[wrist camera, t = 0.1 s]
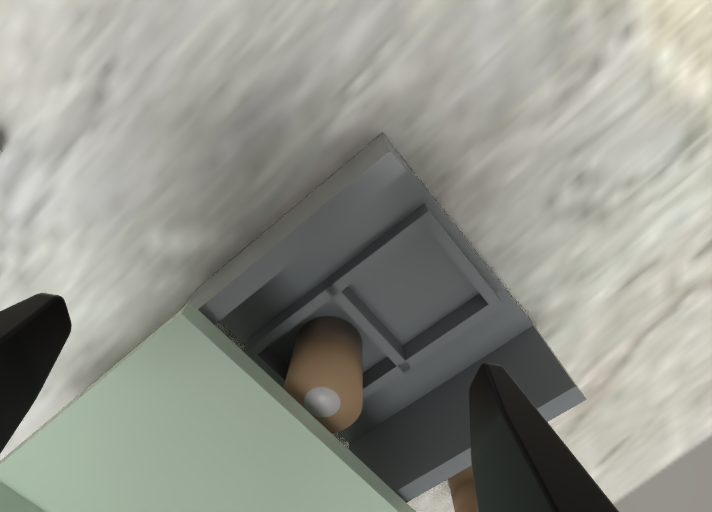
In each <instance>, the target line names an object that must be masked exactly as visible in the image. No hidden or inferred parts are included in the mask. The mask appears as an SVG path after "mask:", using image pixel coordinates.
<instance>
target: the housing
mask: <svg viewBox="0 0 712 512" xmlns="http://www.w3.org/2000/svg"><path fill="white" fill-rule="evenodd" d="M188 303H191V304H192V305H194V306H195V307H196V308H197V309H198V310H199V311H200V312H201V313H202V314H203V315H204V316H205V317H206V318H208V319H209V320H210V321H211V322H212V323H213V324H214V325H215V324H216V323H217V322H220V323H221V324H222V325H223V326H224V327H226V328H227V329H228V330H229V331H230V332H231V333H232V334H233V335H234V336H235V337H236V338H237V339H238V340H239V341H241V342H242V343H243V344H244V345H245V348H244V350H243V352H244V353H245V354H246V355H247V356H248V357H250V358H251V359H252V360H253V361H254V362H255V363H256V364H257V365H258V366H259V367H260V368H261V369H263V370H264V371H265V372H266V373H267V374H268V375H269V376H270V377H271V378H272V379H273V380H274V381H275V382H277V383H278V384H279V385H280V386H281V387H282V388H283V389H284V390H285V391H286V392H287V393H288V394H289V395H291V396H292V397H293V398H294V399H295V400H296V401H297V402H298V403H299V404H300V405H301V406H302V407H303V408H305V409H306V410H307V411H308V412H309V413H310V414H311V415H312V416H313V417H314V418H315V419H316V420H317V421H319V422H320V423H321V424H322V425H323V426H324V427H325V428H326V429H327V430H328V431H329V432H330V433H335V432H338V433H339V434H340V435H341V436H342V437H343V438H344V439H345V440H346V441H348V442H349V450H350V451H351V452H352V453H353V454H354V455H355V456H356V457H357V458H358V459H360V460H361V461H362V462H363V463H364V464H365V465H366V466H367V467H368V468H369V469H370V470H371V471H372V472H374V473H375V474H376V475H377V476H378V477H379V478H380V479H381V480H382V481H383V482H384V483H385V484H386V485H388V486H389V487H390V488H391V489H392V490H393V491H394V492H395V493H396V494H397V495H398V496H399V497H400V498H402V499H403V500H404V501H405V502H406V503H407V502H408V501H410V500H412V499H414V498H415V497H417V496H419V495H421V494H422V493H424V492H426V491H428V490H429V489H431V488H433V487H435V486H436V485H438V484H440V483H442V482H443V481H445V480H447V479H449V478H450V477H452V476H454V475H456V474H457V473H459V472H461V471H463V470H464V469H466V468H468V467H469V466H471V465H472V463H471V444H470V417H469V388H470V385H471V383H472V381H473V379H474V377H475V375H476V373H477V371H478V369H479V367H480V365H481V364H482V363H485V362H486V363H493V364H499V365H501V366H502V367H504V369H505V370H506V371H507V372H508V374H509V375H510V376H511V377H512V379H513V380H514V381H515V382H516V384H517V385H518V386H519V387H520V389H521V390H522V391H523V392H524V394H525V395H526V396H527V397H528V399H529V400H530V401H531V402H532V404H533V405H534V406H535V407H536V409H537V410H538V411H539V412H540V414H541V415H542V416H543V417H544V419H545V420H546V421H547V422H548V421H550V420H551V419H553V418H555V417H557V416H558V415H560V414H562V413H564V412H565V411H567V410H569V409H571V408H572V407H574V406H576V405H578V404H579V403H581V402H583V401H585V400H586V398H585V397H584V395H583V394H582V392H581V391H580V390H579V388H578V387H577V385H576V384H575V382H574V381H573V380H572V378H571V377H570V375H569V374H568V373H567V371H566V370H565V368H564V367H563V365H562V364H561V363H560V361H559V360H558V358H557V357H556V356H555V354H554V353H553V351H552V350H551V348H550V347H549V346H548V344H547V343H546V341H545V340H544V339H543V337H542V336H541V334H540V333H539V331H538V330H537V329H536V327H535V326H534V325H533V323H532V322H531V321H530V320H529V318H528V317H527V316H526V315H525V313H524V312H523V311H522V309H521V308H520V307H519V306H518V304H517V303H516V302H515V301H514V299H513V298H512V297H511V295H510V294H509V293H508V292H507V290H506V289H505V288H504V287H503V285H502V284H501V283H500V281H499V280H498V279H497V278H496V276H495V275H494V274H493V273H492V271H491V270H490V269H489V267H488V266H487V265H486V264H485V262H484V261H483V260H482V259H481V257H480V256H479V255H478V253H477V252H476V251H475V250H474V248H473V247H472V246H471V245H470V243H469V242H468V241H467V239H466V238H465V237H464V236H463V234H462V233H461V232H460V231H459V229H458V228H457V227H456V225H455V224H454V223H453V222H452V220H451V219H450V218H449V217H448V215H447V214H446V213H445V211H444V210H443V209H442V208H441V206H440V205H439V204H438V203H437V201H436V200H435V199H434V197H433V196H432V195H431V194H430V192H429V191H428V190H427V189H426V187H425V186H424V185H423V183H422V182H421V181H420V180H419V178H418V177H417V176H416V175H415V173H414V172H413V171H412V169H411V168H410V167H409V166H408V164H407V163H406V162H405V161H404V159H403V158H402V157H401V155H400V154H399V153H398V152H397V150H396V149H395V148H394V147H393V145H392V144H391V143H390V141H389V140H388V139H387V138H386V136H385V135H384V134H383V133H381V134H380V135H379V136H378V137H377V138H375V139H374V140H373V141H372V142H371V143H369V144H368V145H367V146H366V147H365V148H363V149H362V150H361V151H360V152H359V153H358V154H356V155H355V156H354V157H353V158H352V159H350V160H349V161H348V162H347V163H346V164H344V165H343V166H342V167H341V168H340V169H339V170H337V171H336V172H335V173H334V174H333V175H331V176H330V177H329V178H328V179H327V180H326V181H324V182H323V183H322V184H321V185H320V186H318V187H317V188H316V189H315V190H314V191H312V192H311V193H310V194H309V195H308V196H307V197H305V198H304V199H303V200H302V201H301V202H299V203H298V204H297V205H296V206H295V207H294V208H292V209H291V210H290V211H289V212H288V213H286V214H285V215H284V216H283V217H282V218H280V219H279V220H278V221H277V222H276V223H275V224H273V225H272V226H271V227H270V228H269V229H267V230H266V231H265V232H264V233H263V234H261V235H260V236H259V237H258V238H257V239H256V240H254V241H253V242H252V243H251V244H250V245H248V246H247V247H246V248H245V249H244V250H243V251H241V252H240V253H239V254H238V255H237V256H235V257H234V258H233V259H232V260H231V261H229V262H228V263H227V264H226V265H225V266H224V267H222V268H221V269H220V270H219V271H218V272H216V273H215V274H214V275H213V276H212V277H210V278H209V279H208V280H207V281H206V282H205V283H203V284H202V285H201V286H200V287H199V288H198V289H197V290H196V291H195V292H194V294H193V295H192V296H191V297H190V299H189V300H188V301H187V302H186V304H185V305H184V306H183V307H182V308H184V307H185V306H186V305H187V304H188Z"/></svg>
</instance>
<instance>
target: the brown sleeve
mask: <svg viewBox="0 0 712 512" xmlns="http://www.w3.org/2000/svg"><path fill="white" fill-rule="evenodd" d="M448 482H449V486H450V491H451V496H452V500H453V505H454V509H455V512H478V505H477V498H476V492H475V485H474V478H473V471H472V465H471V466H469V467H468V468H466V469H464V470H463V471H461V472H459V473H457V474H456V475H454V476H452V477H450V478H449V479H448Z"/></svg>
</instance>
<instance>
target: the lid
mask: <svg viewBox="0 0 712 512" xmlns="http://www.w3.org/2000/svg"><path fill="white" fill-rule="evenodd" d="M0 512H416V511H414V510H413V509H412V508H411V507H410V506H409V505H408V504H407V503H406V502H405V501H404V500H403V499H402V498H400V497H399V496H398V495H397V494H396V493H395V492H394V491H393V490H392V489H391V488H390V487H389V486H388V485H386V484H385V483H384V482H383V481H382V480H381V479H380V478H379V477H378V476H377V475H376V474H375V473H374V472H372V471H371V470H370V469H369V468H368V467H367V466H366V465H365V464H364V463H363V462H362V461H361V460H360V459H358V458H357V457H356V456H355V455H354V454H353V453H352V452H351V451H350V450H349V449H348V448H347V447H346V446H344V445H343V444H342V443H341V442H340V441H339V440H338V439H337V438H336V437H335V436H334V435H333V434H331V433H330V432H329V431H328V430H327V429H326V428H325V427H324V426H323V425H322V424H321V423H320V422H319V421H317V420H316V419H315V418H314V417H313V416H312V415H311V414H310V413H309V412H308V411H307V410H306V409H305V408H303V407H302V406H301V405H300V404H299V403H298V402H297V401H296V400H295V399H294V398H293V397H292V396H291V395H289V394H288V393H287V392H286V391H285V390H284V389H283V388H282V387H281V386H280V385H279V384H278V383H277V382H275V381H274V380H273V379H272V378H271V377H270V376H269V375H268V374H267V373H266V372H265V371H264V370H263V369H261V368H260V367H259V366H258V365H257V364H256V363H255V362H254V361H253V360H252V359H251V358H250V357H248V356H247V355H246V354H245V353H244V352H243V351H242V350H241V349H240V348H239V347H238V346H237V345H236V344H234V343H233V342H232V341H231V340H230V339H229V338H228V337H227V336H226V335H225V334H224V333H223V332H222V331H220V330H219V329H218V328H217V327H216V326H215V325H214V324H213V323H212V322H211V321H210V320H209V319H208V318H206V317H205V316H204V315H203V314H202V313H201V312H200V311H199V310H198V309H197V308H196V307H195V306H194V305H192V304H191V303H188V304H187V305H186V306H185V307H184V308H182V309H181V310H180V311H179V312H178V313H176V314H175V315H174V316H173V317H172V318H170V319H169V320H168V321H167V322H166V323H164V324H163V325H162V326H161V327H160V328H158V329H157V330H156V331H155V332H154V333H153V334H151V335H150V336H149V337H148V338H147V339H145V340H144V341H143V342H142V343H141V344H139V345H138V346H137V347H136V348H135V349H133V350H132V351H131V352H130V353H129V354H127V355H126V356H125V357H124V358H123V359H121V360H120V361H119V362H118V363H117V364H115V365H114V366H113V367H112V368H111V369H110V370H108V371H107V372H106V373H105V374H104V375H102V376H101V377H100V378H99V379H98V380H96V381H95V382H94V383H93V384H92V385H90V386H89V387H88V388H87V389H86V390H84V391H83V392H82V393H81V394H80V395H78V396H77V397H76V398H75V399H74V400H72V401H71V402H70V403H69V404H68V405H67V406H65V407H64V408H63V409H62V410H61V411H59V412H58V413H57V414H56V415H55V416H53V417H52V418H51V419H50V420H49V421H47V422H46V423H45V424H44V425H43V426H41V427H40V428H39V429H38V430H37V431H35V432H34V433H33V434H32V435H31V436H30V437H28V438H27V439H26V440H25V441H24V442H22V443H21V444H20V445H19V446H18V447H16V448H15V449H14V450H13V451H12V452H10V453H9V454H8V455H7V456H6V457H4V458H3V459H2V460H1V461H0Z"/></svg>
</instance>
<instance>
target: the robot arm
mask: <svg viewBox="0 0 712 512" xmlns="http://www.w3.org/2000/svg"><path fill="white" fill-rule="evenodd" d="M70 332H71V320H70V317H69V313H68V310H67V307H66V303H65V300H64V299H63V298H62V297H61V296H59V295H53V294H47V293H39V294H36V295H34V296H32V297H30V298H28V299H26V300H23V301H21V302H19V303H17V304H15V305H13V306H11V307H9V308H6V309H4V310H2V311H0V453H1V452H2V450H3V449H4V447H5V446H6V444H7V443H8V441H9V440H10V438H11V437H12V435H13V434H14V432H15V430H16V429H17V427H18V426H19V424H20V423H21V421H22V420H23V418H24V417H25V415H26V414H27V412H28V411H29V409H30V408H31V406H32V404H33V403H34V401H35V400H36V398H37V396H38V394H39V393H40V391H41V389H42V387H43V385H44V383H45V381H46V379H47V377H48V375H49V373H50V372H51V370H52V368H53V366H54V364H55V362H56V360H57V358H58V356H59V354H60V352H61V350H62V348H63V346H64V344H65V342H66V340H67V339H68V337H69V334H70ZM469 417H470V444H471V463H472V471H473V478H474V485H475V492H476V498H477V505H478V512H619V511H618V510H617V509H616V507H615V506H614V505H613V504H612V502H611V501H610V500H609V499H608V497H607V496H606V495H605V494H604V492H603V491H602V490H601V489H600V487H599V486H598V485H597V484H596V482H595V481H594V480H593V479H592V477H591V476H590V475H589V474H588V472H587V471H586V470H585V469H584V467H583V466H582V465H581V464H580V462H579V461H578V460H577V459H576V457H575V456H574V455H573V454H572V452H571V451H570V450H569V449H568V447H567V446H566V445H565V444H564V442H563V441H562V440H561V439H560V437H559V436H558V435H557V434H556V432H555V431H554V430H553V429H552V427H551V426H550V425H549V424H548V422H547V421H546V420H545V419H544V417H543V416H542V415H541V414H540V412H539V411H538V410H537V409H536V407H535V406H534V405H533V404H532V402H531V401H530V400H529V399H528V397H527V396H526V395H525V394H524V392H523V391H522V390H521V389H520V387H519V386H518V385H517V384H516V382H515V381H514V380H513V379H512V377H511V376H510V375H509V374H508V372H507V371H506V370H505V369H504V367H502V366H501V365H499V364H493V363H486V362H485V363H482V364H481V365H480V367H479V369H478V371H477V373H476V375H475V377H474V379H473V381H472V383H471V385H470V388H469Z"/></svg>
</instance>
